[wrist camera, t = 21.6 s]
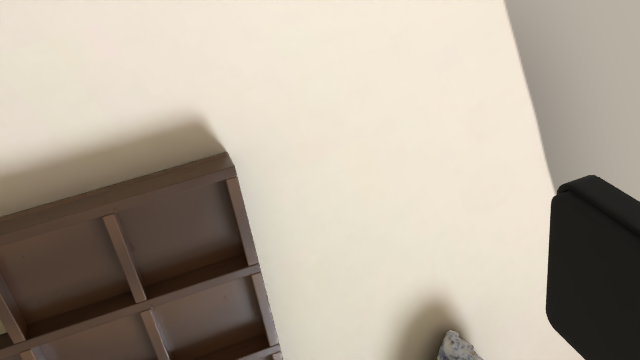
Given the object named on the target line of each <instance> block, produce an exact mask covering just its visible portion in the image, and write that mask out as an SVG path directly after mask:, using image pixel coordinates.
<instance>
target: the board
mask: <svg viewBox="0 0 640 360" xmlns="http://www.w3.org/2000/svg"><path fill="white" fill-rule="evenodd" d="M0 360H283V357H282V353H281V349H280V345H279V341H278V337H277V333H276V329H275V325H274V321H273V317H272V313H271V309H270V305H269V301H268V297H267V293H266V289H265V285H264V281H263V277H262V273H261V269H260V265H259V261H258V257H257V253H256V249H255V245H254V241H253V237H252V233H251V229H250V225H249V221H248V217H247V213H246V209H245V206H244V202H243V198H242V194H241V190H240V186H239V182H238V178H237V174H236V170H235V166H234V164H233V162H232V160H231V158H230V157H229V154H228V153H227V152H225V153H222V154H219V155H215V156H212V157H208V158H205V159H201V160H198V161H194V162H191V163H187V164H184V165H180V166H177V167H174V168H170V169H167V170H163V171H160V172H156V173H153V174H149V175H146V176H142V177H139V178H135V179H132V180H128V181H125V182H122V183H118V184H115V185H111V186H108V187H104V188H101V189H97V190H94V191H90V192H87V193H83V194H80V195H77V196H73V197H70V198H66V199H63V200H59V201H56V202H52V203H49V204H45V205H42V206H38V207H35V208H32V209H28V210H25V211H21V212H18V213H14V214H11V215H7V216H4V217H0Z"/></svg>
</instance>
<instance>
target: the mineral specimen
mask: <svg viewBox="0 0 640 360" xmlns="http://www.w3.org/2000/svg"><path fill="white" fill-rule="evenodd" d="M473 348H474V347H473V346H472V345H471V344H470V343H469V342H466V341H465V340H464V339H462V338H459V333H458V332H456V331H452V330H449V331H448V332H446V336H445V337H444V339H443V341H442V344H441V347H440V350H439V354H438V358H437V360H483V359H482V358H480V357H479V356H478V355H477V354H476V352H475V351H474V349H473Z"/></svg>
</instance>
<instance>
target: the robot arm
mask: <svg viewBox="0 0 640 360" xmlns="http://www.w3.org/2000/svg"><path fill="white" fill-rule="evenodd" d="M546 314H547V317H548V320H549V322H550V324H551V325H552V327H553V328H554V329H555V330H556V331H557V332H558V333H559V334H560V335H561V336H562V337H563V338H564V339H565V340H566V341H567V342H568V343H569V344H570V345H571V346H572V347H573V348H574V349H575V350H576V351H577V352H578V353H579V354H580V355H581V356H582V357H583V358H584V359H585V360H640V202H639V201H637V200H636V199H634V198H632V197H631V196H629V195H627V194H626V193H624V192H622V191H621V190H619V189H618V188H616V187H614V186H613V185H611V184H609V183H608V182H606V181H604V180H603V179H601V178H600V177H597V176H595V175H588V176H586V177H583V178H580V179H577V180H574V181H571V182H568V183H565V184H563V185H561V186H560V187H559V189H558V190H557V195H556V196H554V197H553V199H552V202H551V216H550V235H549V255H548V275H547V295H546Z"/></svg>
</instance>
